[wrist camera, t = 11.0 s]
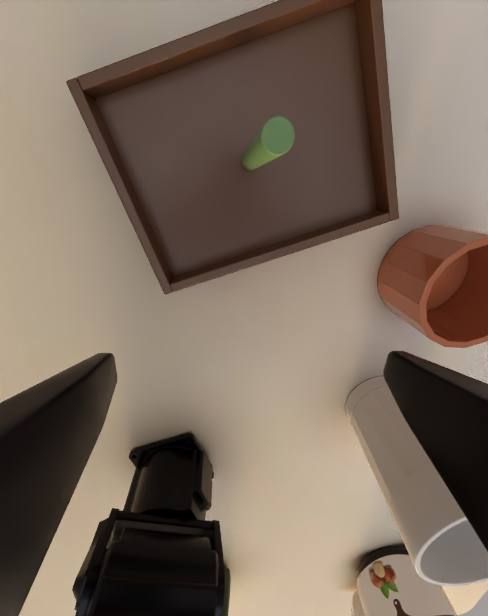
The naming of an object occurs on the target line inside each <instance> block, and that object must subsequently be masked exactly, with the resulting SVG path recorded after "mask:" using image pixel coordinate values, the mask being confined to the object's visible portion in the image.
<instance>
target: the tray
mask: <svg viewBox="0 0 488 616" xmlns="http://www.w3.org/2000/svg"><path fill="white" fill-rule="evenodd" d="M66 83H67V85H68V87H69V89H70V92H71V94H72V96H73V98H74V100H75V102H76V104H77V107H78V109H79V111H80V113H81V115H82V117H83V120H84V122H85V124H86V126H87V128H88V130H89V132H90V135H91V137H92V139H93V141H94V143H95V145H96V147H97V150H98V152H99V154H100V156H101V158H102V160H103V163H104V165H105V167H106V169H107V171H108V173H109V175H110V178H111V180H112V182H113V184H114V186H115V188H116V190H117V193H118V195H119V197H120V199H121V201H122V203H123V206H124V208H125V210H126V212H127V214H128V216H129V218H130V221H131V223H132V225H133V227H134V229H135V231H136V233H137V236H138V238H139V240H140V242H141V244H142V246H143V249H144V251H145V253H146V255H147V257H148V259H149V261H150V264H151V266H152V268H153V270H154V272H155V274H156V277H157V279H158V281H159V283H160V285H161V287H162V289H163V292H164V294H169V293H172V292H175V291H178V290H181V289H184V288H187V287H190V286H193V285H196V284H199V283H202V282H205V281H208V280H211V279H215V278H218V277H221V276H224V275H227V274H230V273H233V272H236V271H239V270H242V269H245V268H248V267H251V266H254V265H257V264H260V263H264V262H267V261H270V260H273V259H276V258H279V257H282V256H285V255H288V254H291V253H294V252H297V251H300V250H303V249H306V248H310V247H313V246H316V245H319V244H322V243H325V242H328V241H331V240H334V239H337V238H340V237H343V236H346V235H349V234H352V233H355V232H359V231H362V230H365V229H368V228H371V227H374V226H377V225H380V224H383V223H386V222H389V221H392V220H395V219H398V218H399V214H398V201H397V188H396V175H395V163H394V150H393V137H392V124H391V112H390V99H389V86H388V73H387V61H386V48H385V35H384V22H383V10H382V0H279V1H277V2H274V3H271V4H269V5H266V6H264V7H261V8H258V9H256V10H253V11H250V12H248V13H245V14H242V15H240V16H237V17H235V18H232V19H229V20H227V21H224V22H221V23H219V24H216V25H213V26H211V27H208V28H205V29H203V30H200V31H198V32H195V33H192V34H190V35H187V36H184V37H182V38H179V39H176V40H174V41H171V42H169V43H166V44H163V45H161V46H158V47H155V48H153V49H150V50H147V51H145V52H142V53H140V54H137V55H134V56H132V57H129V58H126V59H124V60H121V61H118V62H116V63H113V64H110V65H108V66H105V67H103V68H100V69H97V70H95V71H92V72H89V73H87V74H84V75H81V76H79V77H77V78H74V79H71V80H68V81H66ZM274 116H282V117H285V118H287V119H288V120H289V121H290V122H291V124H292V126H293V128H294V133H295V138H294V142H293V145H292V147H291V148H290V150H289V151H288V152H286V153H285V154H283V155H281V156H279V157H277V158H275V159H273V160H271V161H269V162H267V163H265V164H264V165H262V166H260V167H258V168H256V169H254V170H247V169H245V168H244V167H243V165H242V161H241V159H242V156H243V154H244V153H245V151H246V150H247V148H248V147H249V145H250V144H251V143H252V141H253V140H254V138H255V137H256V135H257V134H258V132H259V131H260V130H261V128H262V127H263V125H264V124H265V122H266V121H267V120H268V119H270V118H272V117H274Z"/></svg>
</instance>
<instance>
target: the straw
mask: <svg viewBox="0 0 488 616" xmlns="http://www.w3.org/2000/svg"><path fill="white" fill-rule="evenodd" d="M294 138H295V133H294V128H293V126H292V124H291V122H290V121H289V120H288V119H287V118H285V117H282V116H274V117H272V118H270V119H268V120H267V121H266V122H265V124H264V125H263V127H262V128H261V130H260V131H259V132H258V134H257V135H256V137H255V138H254V140H253V141H252V143H251V144H250V145H249V147H248V148H247V150H246V151H245V153H244V154H243V156H242V159H241V161H242V165H243V167H244V168H245V169H247V170H254V169H256V168H258V167H260V166H262V165H264V164H265V163H267V162H269V161H271V160H273V159H275V158H277V157H279V156H281V155H283V154H285V153H286V152H288V151H289V150H290V148H291V147H292V145H293V142H294Z"/></svg>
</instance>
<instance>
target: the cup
mask: <svg viewBox="0 0 488 616" xmlns="http://www.w3.org/2000/svg"><path fill="white" fill-rule="evenodd" d="M345 411H346V415H347V417H348V419H349V420H350V422H351V424H352V426H353V428H354V430H355V432H356V435H357V437H358V439H359V441H360V444H361V446H362V448H363V450H364V453H365V455H366V457H367V459H368V462H369V464H370V466H371V468H372V471H373V473H374V475H375V477H376V480H377V482H378V484H379V486H380V489H381V491H382V493H383V495H384V498H385V500H386V502H387V504H388V507H389V509H390V511H391V514H392V516H393V518H394V521H395V523H396V525H397V528H398V530H399V532H400V535H401V537H402V539H403V542H404V544H405V546H406V549H407V551H408V553H409V556H410V558H411V560H412V563H413V565H414V567H415V570H416V572H417V573H418V575H419V576H420V577H421V578H422V579H424V580H425V581H427V582H430V583H432V584H436V585H442V586H462V585H470V584H475V583H479V582H483V581H487V580H488V552H487V550H486V549H485V547H484V545H483V544H482V542H481V541H480V539H479V537H478V536H477V534H476V533H475V531H474V529H473V528H472V526H471V525H470V523H469V521H468V520H467V518H466V517H465V515H464V513H463V512H462V510H461V509H460V507H459V505H458V504H457V502H456V501H455V499H454V497H453V496H452V494H451V493H450V491H449V489H448V488H447V486H446V485H445V483H444V481H443V480H442V478H441V477H440V475H439V473H438V472H437V470H436V469H435V467H434V466H433V464H432V462H431V461H430V459H429V458H428V456H427V454H426V453H425V451H424V450H423V448H422V446H421V445H420V443H419V442H418V440H417V438H416V437H415V435H414V434H413V432H412V430H411V429H410V427H409V426H408V424H407V422H406V421H405V419H404V417H403V415H402V413H401V411H400V409H399V407H398V405H397V403H396V401H395V399H394V397H393V395H392V393H391V391H390V389H389V387H388V385H387V383H386V381H385V379H384V376H379V377H374V378H371V379H369V380H366V381H365V382H363V383H361V384H360V385H358V386H357V387H356V388H355V389H354V390H353V391H352V392H351V394H350V395H349V397H348V399H347V401H346V405H345Z"/></svg>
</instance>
